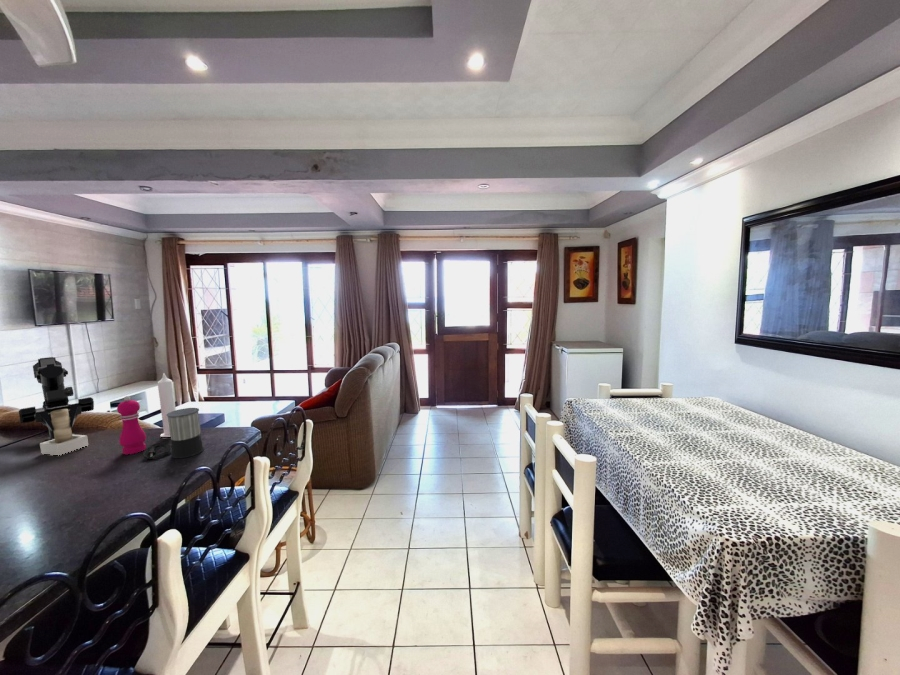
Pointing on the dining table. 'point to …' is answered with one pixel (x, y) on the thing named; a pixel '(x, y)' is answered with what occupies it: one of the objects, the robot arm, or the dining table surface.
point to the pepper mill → (131, 427)
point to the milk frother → (180, 435)
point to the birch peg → (61, 425)
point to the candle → (166, 402)
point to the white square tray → (64, 445)
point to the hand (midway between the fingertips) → (62, 428)
